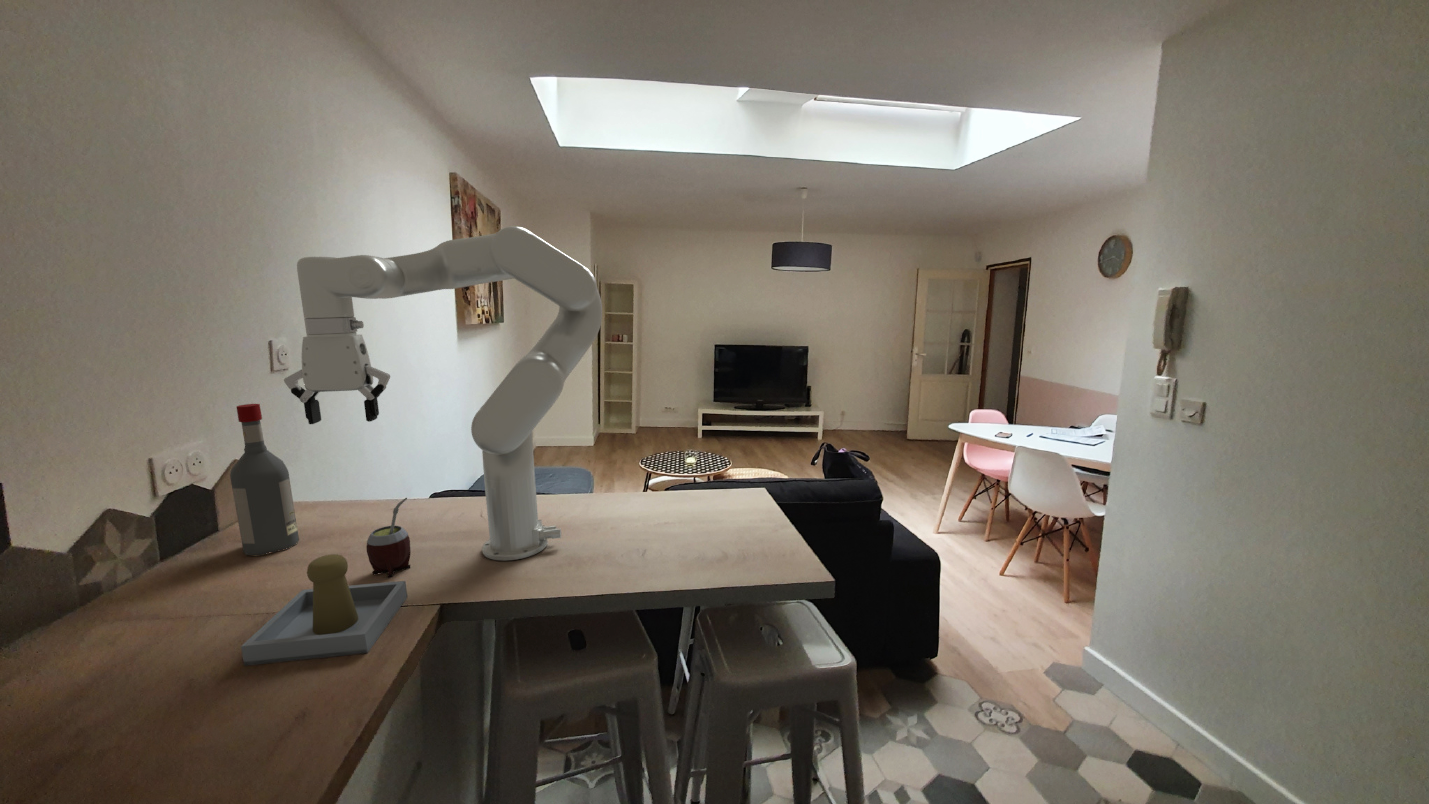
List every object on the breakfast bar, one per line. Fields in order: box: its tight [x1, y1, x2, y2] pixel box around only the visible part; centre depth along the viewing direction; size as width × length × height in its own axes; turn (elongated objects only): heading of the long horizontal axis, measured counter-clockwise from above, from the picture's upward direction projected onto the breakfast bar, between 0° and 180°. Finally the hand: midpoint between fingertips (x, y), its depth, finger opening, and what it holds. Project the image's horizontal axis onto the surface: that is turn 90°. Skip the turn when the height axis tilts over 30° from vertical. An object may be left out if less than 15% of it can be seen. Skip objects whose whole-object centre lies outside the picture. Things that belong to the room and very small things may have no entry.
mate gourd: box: [366, 497, 412, 579], centre depth 107 cm, size 8×8×15 cm
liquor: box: [229, 403, 300, 556], centre depth 118 cm, size 9×9×30 cm
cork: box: [306, 553, 358, 635], centre depth 89 cm, size 6×6×11 cm
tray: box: [240, 580, 408, 667], centre depth 89 cm, size 16×16×3 cm
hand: (343, 421), depth 106 cm, fingers open, 9 cm apart
